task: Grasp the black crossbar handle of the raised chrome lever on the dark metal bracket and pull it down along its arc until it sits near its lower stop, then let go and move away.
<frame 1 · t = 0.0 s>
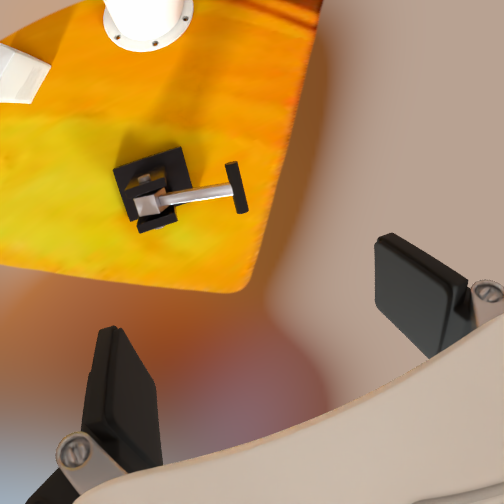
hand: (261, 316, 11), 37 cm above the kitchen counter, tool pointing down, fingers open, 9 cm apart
small box: (23, 76, 30), on the kitchen counter
lever: (187, 195, 32), point 13 cm above the kitchen counter, hinge at 30.0°
bracket: (154, 183, 43), on the kitchen counter
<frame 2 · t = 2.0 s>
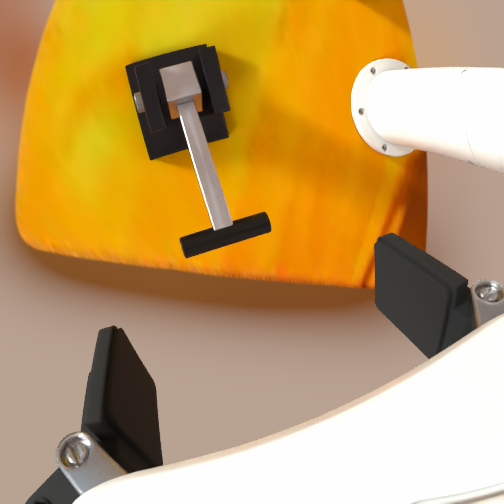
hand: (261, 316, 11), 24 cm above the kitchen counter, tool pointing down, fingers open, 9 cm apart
lever: (198, 149, 18), point 13 cm above the kitchen counter, hinge at 30.0°
bracket: (176, 100, 28), on the kitchen counter
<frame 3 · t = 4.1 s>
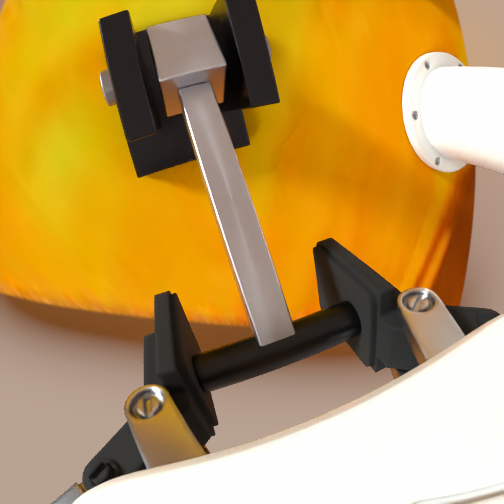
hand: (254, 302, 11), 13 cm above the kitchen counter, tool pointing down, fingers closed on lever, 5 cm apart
lever: (221, 175, 9), point 13 cm above the kitchen counter, hinge at 30.0°, touching gripper
bracket: (175, 92, 19), on the kitchen counter
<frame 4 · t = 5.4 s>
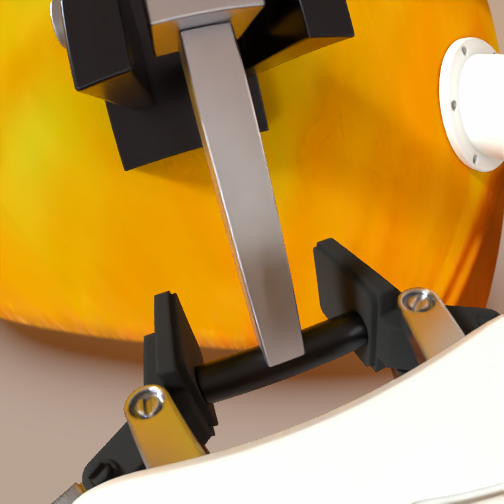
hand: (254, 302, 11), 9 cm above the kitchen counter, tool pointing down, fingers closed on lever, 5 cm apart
lever: (237, 169, 7), point 11 cm above the kitchen counter, hinge at 3.5°, touching gripper
bracket: (174, 63, 15), on the kitchen counter
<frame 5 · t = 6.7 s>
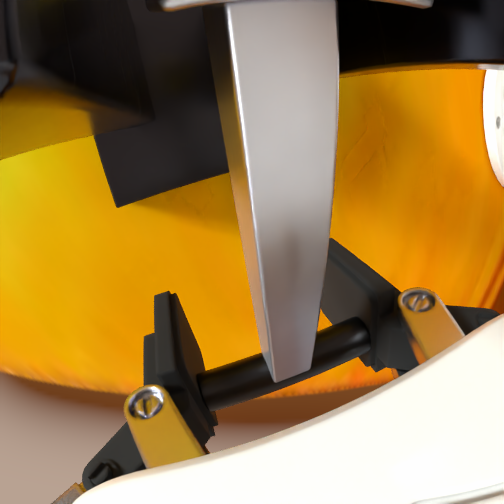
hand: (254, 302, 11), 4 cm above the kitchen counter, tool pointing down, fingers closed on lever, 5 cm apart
lever: (282, 227, 5), point 9 cm above the kitchen counter, hinge at -21.5°, touching gripper
bracket: (180, 62, 11), on the kitchen counter
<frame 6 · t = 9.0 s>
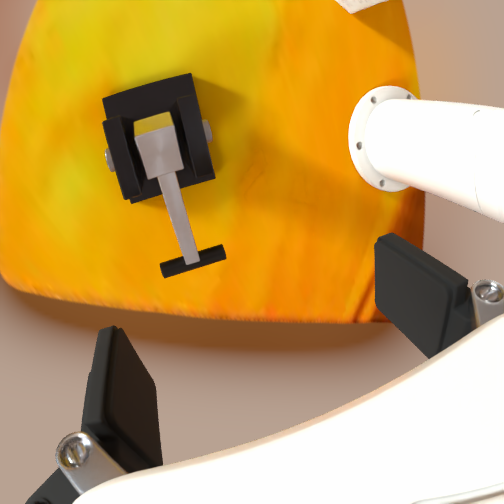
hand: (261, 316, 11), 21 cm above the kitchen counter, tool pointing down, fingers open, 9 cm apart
lever: (175, 206, 20), point 9 cm above the kitchen counter, hinge at -21.5°
bracket: (158, 137, 26), on the kitchen counter
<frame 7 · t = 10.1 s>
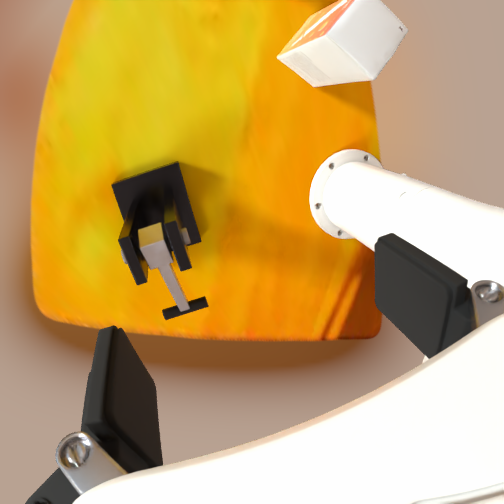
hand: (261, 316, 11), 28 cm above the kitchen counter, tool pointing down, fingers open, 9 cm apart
small box: (310, 51, 33), on the kitchen counter
lever: (170, 278, 30), point 9 cm above the kitchen counter, hinge at -21.5°
bracket: (157, 211, 36), on the kitchen counter
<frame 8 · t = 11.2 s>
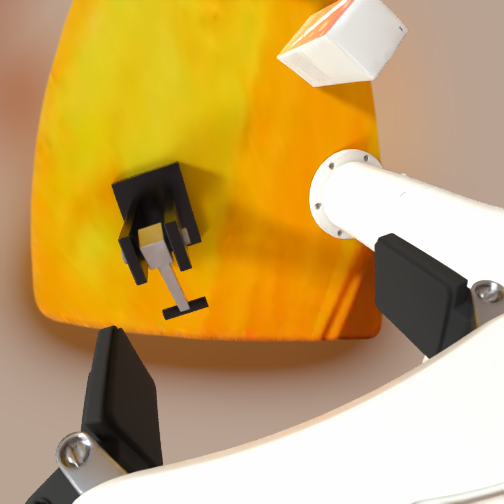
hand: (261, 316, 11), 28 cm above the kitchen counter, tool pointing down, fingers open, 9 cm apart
small box: (310, 51, 33), on the kitchen counter
lever: (170, 278, 30), point 9 cm above the kitchen counter, hinge at -21.5°
bracket: (157, 211, 36), on the kitchen counter
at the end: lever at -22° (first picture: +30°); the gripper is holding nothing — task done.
